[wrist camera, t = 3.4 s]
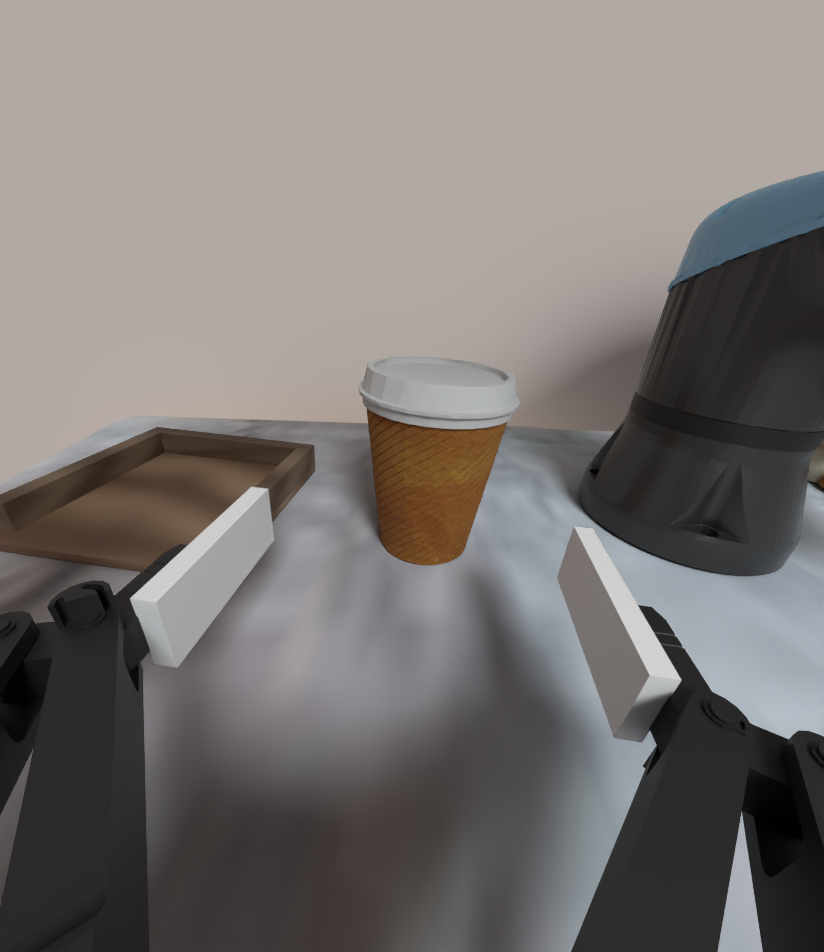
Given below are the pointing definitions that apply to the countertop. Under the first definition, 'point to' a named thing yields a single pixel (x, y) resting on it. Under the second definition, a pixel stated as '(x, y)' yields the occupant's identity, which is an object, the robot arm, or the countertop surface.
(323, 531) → the countertop surface
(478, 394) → the disposable coffee cup
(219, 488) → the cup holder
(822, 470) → the stuffed squirrel
